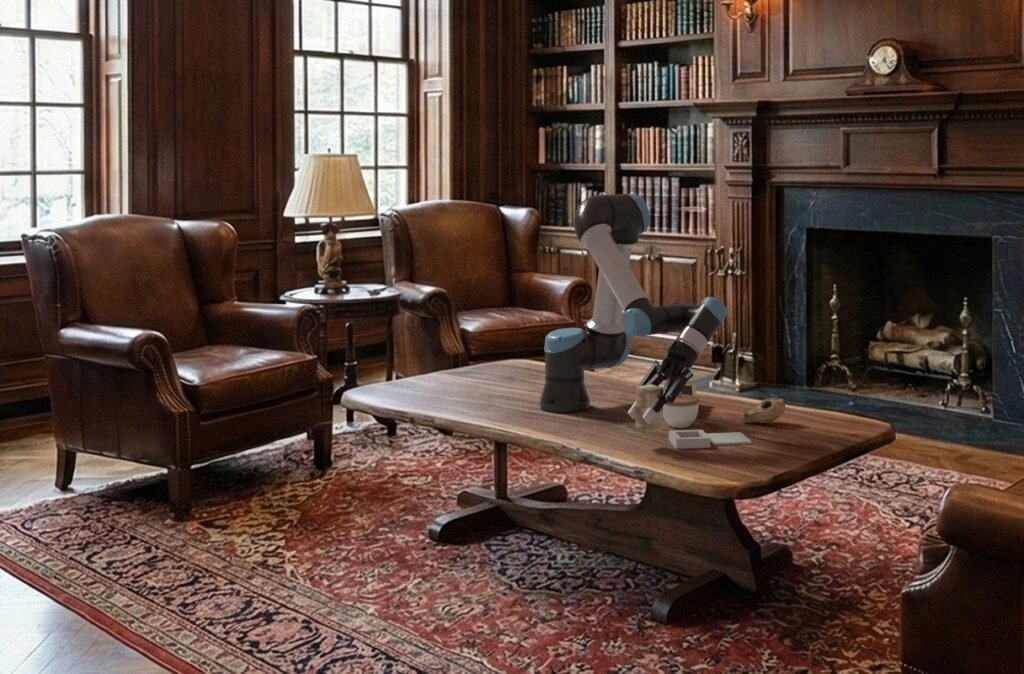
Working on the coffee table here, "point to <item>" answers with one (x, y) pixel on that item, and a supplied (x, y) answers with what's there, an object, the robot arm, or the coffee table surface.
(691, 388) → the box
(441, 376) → the coffee table surface
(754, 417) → the pottery oil lamp
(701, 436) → the stone well
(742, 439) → the felt pad
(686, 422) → the lidded jar
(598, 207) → the robot arm
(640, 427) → the maple block
